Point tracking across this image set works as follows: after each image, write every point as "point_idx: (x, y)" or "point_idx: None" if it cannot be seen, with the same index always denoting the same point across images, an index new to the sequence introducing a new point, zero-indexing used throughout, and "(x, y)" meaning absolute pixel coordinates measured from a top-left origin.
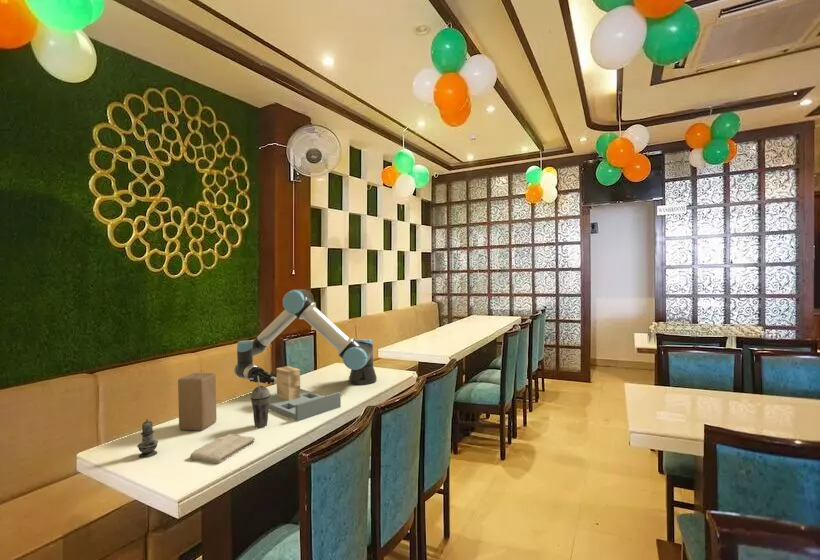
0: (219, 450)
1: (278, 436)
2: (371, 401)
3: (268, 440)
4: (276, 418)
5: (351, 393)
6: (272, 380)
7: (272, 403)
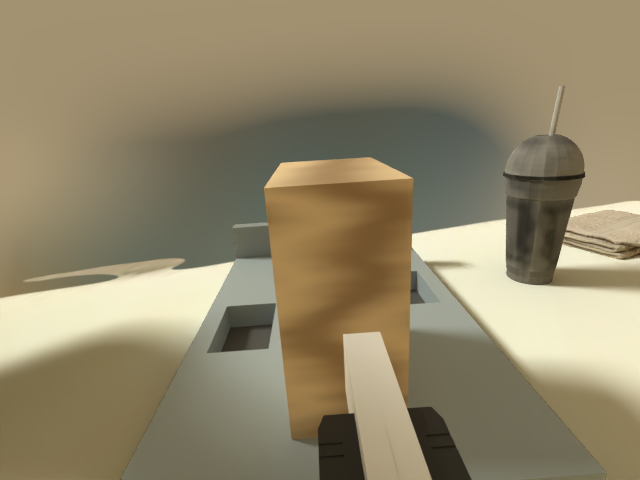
0: (618, 214)
1: (478, 237)
2: (149, 265)
3: (504, 235)
4: (466, 291)
5: (55, 330)
6: (427, 414)
7: (470, 335)
